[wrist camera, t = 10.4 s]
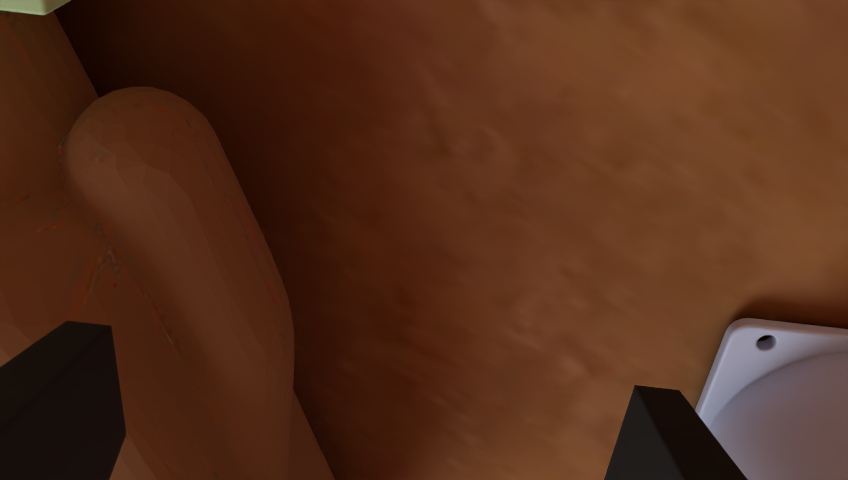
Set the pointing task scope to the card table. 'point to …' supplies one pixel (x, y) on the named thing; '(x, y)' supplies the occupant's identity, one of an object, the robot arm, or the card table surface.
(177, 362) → the toy
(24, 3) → the felt cube
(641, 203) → the card table surface
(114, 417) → the robot arm
